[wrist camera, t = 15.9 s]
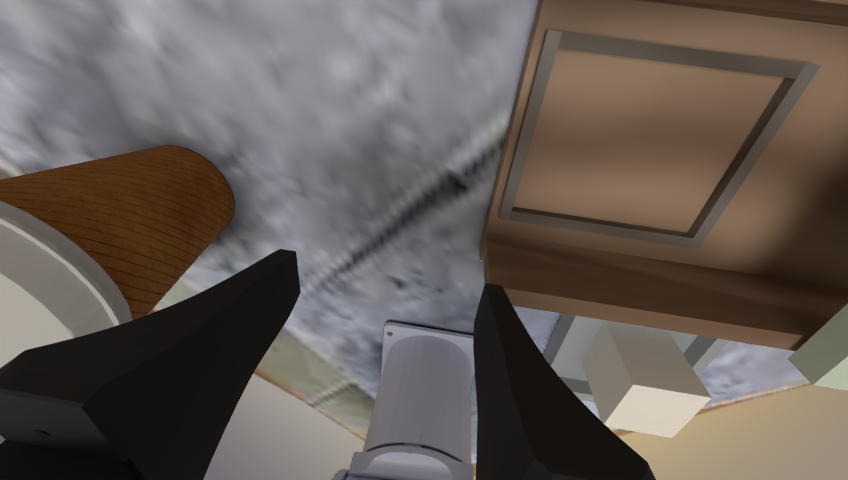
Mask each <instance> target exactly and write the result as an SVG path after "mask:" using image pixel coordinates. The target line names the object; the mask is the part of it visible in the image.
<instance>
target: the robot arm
mask: <svg viewBox="0 0 848 480" xmlns="http://www.w3.org/2000/svg"><path fill="white" fill-rule="evenodd" d="M299 294H300V284H299V275H298V266H297V257H296V252H295V251H289V250H283V249H279V250H277V251H275V252H274V253H272V254H270V255H268V256H267V257H265V258H263V259H261V260H260V261H258V262H256V263H255V264H253V265H251V266H249V267H248V268H246V269H244V270H242V271H241V272H239V273H237V274H235V275H234V276H232V277H230V278H228V279H226V280H224V281H222V282H220V283H218V284H217V285H215V286H213V287H211V288H209V289H207V290H205V291H203V292H201V293H199V294H197V295H195V296H193V297H190V298H188V299H186V300H184V301H181V302H179V303H177V304H174V305H172V306H170V307H167V308H165V309H162V310H159V311H157V312H154V313H151V314H149V315H146V316H143V317H140V318H138V319H135V320H132V321H129V322H126V323H123V324H120V325H117V326H114V327H111V328H108V329H104V330H101V331H98V332H94V333H91V334H87V335H84V336H80V337H76V338H73V339H69V340H65V341H61V342H57V343H53V344H49V345H45V346H41V347H36V348H32V349H28V350H25V351H23V352H22V353H20V354H19V355H18V356H16V357H15V358H14V359H12V360H11V361H9V362H8V363H7V364H5V365H4V366H3V367H1V368H0V435H1V436H2V437H3V438H5V439H6V440H5V441H4V442H3V443H2V444H0V480H203V478H204V476H205V474H206V471H207V469H208V467H209V464H210V462H211V459H212V457H213V455H214V453H215V450H216V448H217V446H218V444H219V441H220V439H221V437H222V435H223V433H224V430H225V428H226V426H227V424H228V422H229V420H230V418H231V416H232V414H233V412H234V409H235V407H236V405H237V403H238V401H239V399H240V397H241V395H242V393H243V391H244V389H245V387H246V385H247V383H248V381H249V380H250V378H251V376H252V374H253V372H254V371H255V369H256V367H257V366H258V364H259V363H260V361H261V359H262V358H263V356H264V355H265V353H266V352H267V350H268V349H269V347H270V346H271V344H272V342H273V341H274V339H275V338H276V336H277V335H278V333H279V332H280V330H281V328H282V327H283V325H284V324H285V322H286V321H287V319H288V317H289V316H290V314H291V312H292V310H293V308H294V306H295V303H296V301H297V299H298V297H299ZM474 373H475V380H476V394H477V411H478V425H477V462H476V480H656V479H655V477H654V475H653V473H652V471H651V469H650V467H649V465H648V463H647V461H645V460H644V459H643V458H642V457H641V456H640V455H638V454H637V453H636V452H635V451H634V450H633V449H631V448H630V447H629V446H628V445H627V444H626V443H625V442H623V441H622V440H621V439H620V438H619V437H618V436H616V435H615V434H614V433H613V432H612V431H611V430H610V429H609V428H608V427H607V426H606V425H605V424H603V423H602V422H601V421H600V420H599V419H598V418H597V417H596V416H595V415H594V414H593V413H592V412H591V411H590V410H589V409H588V408H587V407H586V406H585V405H584V404H583V403H582V402H581V401H580V399H579V398H578V397H577V396H576V395H575V394H574V393H573V392H572V391H571V390H570V389H569V388H568V386H567V385H566V384H565V383H564V382H563V381H562V379H561V378H560V377H559V376H558V375H557V373H556V372H555V371H554V370H553V368H552V367H551V366H550V364H549V363H548V362H547V360H546V359H545V358H544V356H543V355H542V353H541V352H540V351H539V349H538V348H537V346H536V345H535V343H534V342H533V340H532V339H531V337H530V335H529V334H528V332H527V331H526V329H525V327H524V325H523V324H522V322H521V320H520V319H519V317H518V315H517V313H516V311H515V310H514V308H513V306H512V304H511V302H510V300H509V298H508V296H507V294H506V292H505V290H504V288H503V287H502V286H501V285H495V284H489V283H485V286H484V289H483V293H482V296H481V300H480V303H479V307H478V310H477V314H476V318H475V321H474V336H472V335H466V334H460V333H454V332H448V331H442V330H436V329H430V328H424V327H418V326H412V325H406V324H400V323H394V322H387V323H386V324H385V327H384V336H383V352H382V368H381V382H380V386H379V389H378V393H377V397H376V401H375V405H374V409H373V413H372V417H371V421H370V425H369V429H368V433H367V437H366V441H365V445H364V449H363V452H355V453H354V455H353V458H352V462H351V465H350V469H341V470H339V471H338V472H337V473H336V474H335V475H334V477H333V478H332V479H331V480H474V479H473V465H472V464H471V383H472V380H473V377H474Z"/></svg>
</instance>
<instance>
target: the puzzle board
mask: <svg viewBox="0 0 848 480" xmlns="http://www.w3.org/2000/svg"><path fill="white" fill-rule="evenodd" d="M479 258H480V260H484V278H485V283H489V284H495V285H501V286H502V287H503V288H504V290H505V292H506V294H507V296H508V298H509V300H510V302H511V304H512V305H514V306H520V307H526V308H532V309H538V310H545V311H551V312H557V313H563V314H569V315H576V316H582V317H588V318H594V319H600V320H607V321H613V322H619V323H625V324H631V325H637V326H644V327H650V328H656V329H662V330H668V331H675V332H681V333H687V334H693V335H699V336H706V337H712V338H718V339H724V340H730V341H736V342H743V343H749V344H755V345H761V346H767V347H774V348H780V349H786V350H792V351H797V350H798V349H799V348H800V347H801V346H802V345H803V344H804V343H806V342H807V341H808V340H809V339H810V338H811V337H812V336H813V335H814V334H815V333H816V332H817V331H819V330H820V329H821V328H822V327H823V326H824V325H825V324H826V323H827V322H828V321H829V320H830V319H831V318H833V317H834V316H835V315H836V314H837V313H838V312H839V311H840V310H841V309H842V308H843V307H844V306H845V305H847V304H848V0H539V2H538V6H537V10H536V14H535V19H534V23H533V27H532V31H531V35H530V39H529V44H528V48H527V52H526V56H525V60H524V64H523V69H522V73H521V77H520V81H519V85H518V89H517V94H516V98H515V102H514V106H513V110H512V114H511V119H510V123H509V127H508V131H507V135H506V139H505V143H504V148H503V152H502V156H501V160H500V164H499V168H498V173H497V177H496V181H495V185H494V189H493V193H492V198H491V202H490V206H489V210H488V214H487V218H486V223H485V227H484V231H483V235H482V239H481V243H480V248H479Z"/></svg>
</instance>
